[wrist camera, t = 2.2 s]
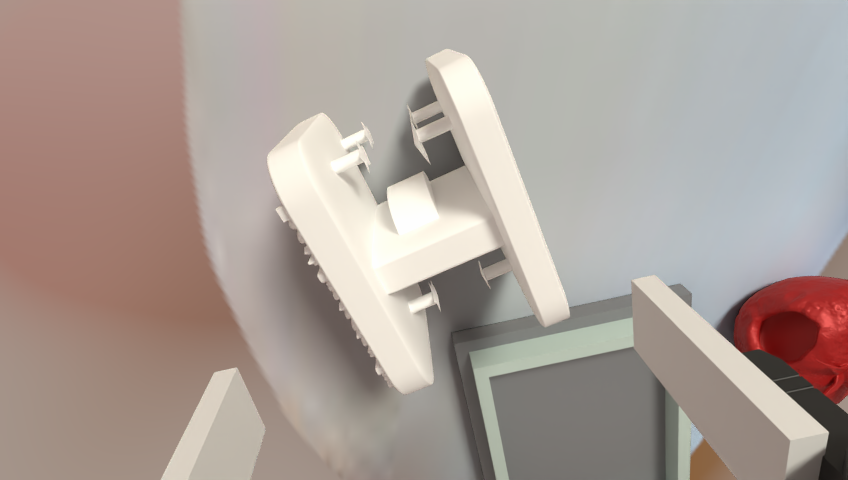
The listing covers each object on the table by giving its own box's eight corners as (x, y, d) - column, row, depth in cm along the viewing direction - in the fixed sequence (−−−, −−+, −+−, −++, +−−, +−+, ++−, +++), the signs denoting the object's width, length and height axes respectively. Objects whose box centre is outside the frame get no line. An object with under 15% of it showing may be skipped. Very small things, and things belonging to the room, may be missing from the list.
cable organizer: (527, 247, 35) (587, 343, 24) (395, 303, 36) (398, 417, 25) (447, 45, 29) (479, 53, 18) (293, 119, 30) (240, 167, 20)
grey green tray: (680, 283, 37) (707, 307, 34) (678, 480, 46) (699, 514, 43) (451, 332, 37) (457, 361, 34) (493, 518, 46) (500, 554, 43)
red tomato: (842, 245, 37) (983, 307, 28) (830, 350, 41) (949, 432, 32) (716, 277, 37) (818, 348, 28) (715, 378, 41) (804, 468, 32)
